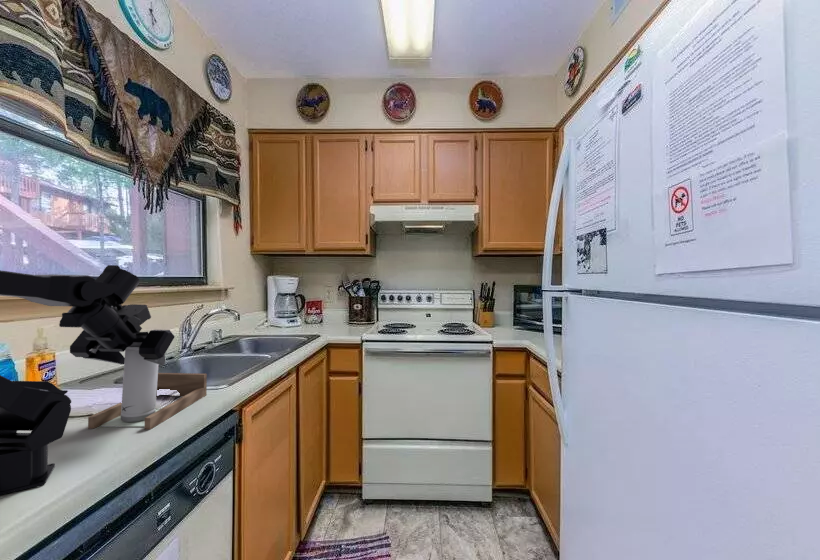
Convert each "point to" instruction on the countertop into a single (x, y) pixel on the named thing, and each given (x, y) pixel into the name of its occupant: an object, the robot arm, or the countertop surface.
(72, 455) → the countertop surface
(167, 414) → the shelf lane
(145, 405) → the travel mug
